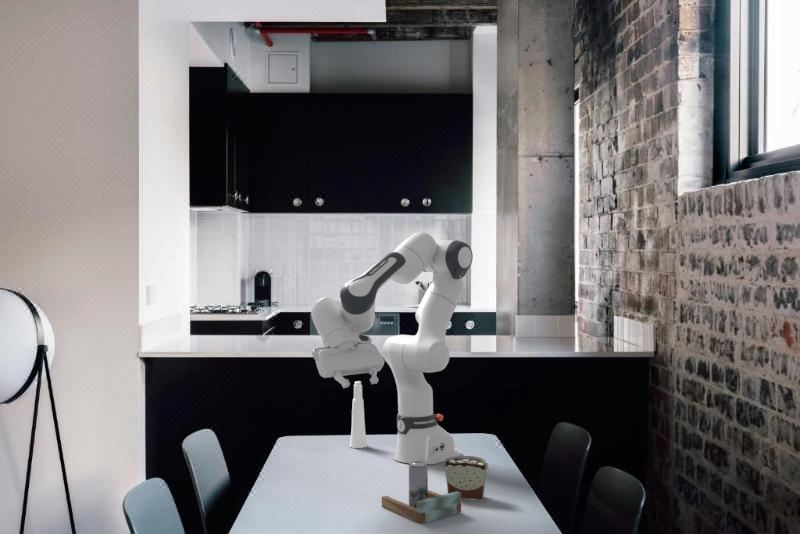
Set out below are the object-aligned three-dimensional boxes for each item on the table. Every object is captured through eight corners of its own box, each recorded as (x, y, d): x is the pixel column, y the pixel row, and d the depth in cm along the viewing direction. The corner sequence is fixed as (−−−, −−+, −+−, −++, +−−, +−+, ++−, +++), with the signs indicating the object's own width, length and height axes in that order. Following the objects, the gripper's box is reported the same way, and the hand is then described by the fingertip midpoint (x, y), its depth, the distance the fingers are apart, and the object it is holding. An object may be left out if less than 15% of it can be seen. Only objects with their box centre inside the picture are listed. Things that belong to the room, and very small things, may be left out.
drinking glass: (419, 504, 192) (419, 459, 192) (431, 509, 189) (431, 463, 188) (405, 507, 190) (404, 462, 189) (416, 513, 186) (416, 466, 186)
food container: (493, 494, 200) (493, 457, 200) (488, 501, 194) (488, 463, 194) (449, 489, 204) (448, 453, 204) (442, 496, 198) (442, 459, 198)
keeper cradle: (421, 496, 199) (421, 477, 198) (461, 512, 186) (461, 492, 186) (381, 506, 191) (381, 487, 191) (420, 523, 178) (420, 503, 178)
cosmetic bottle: (370, 446, 252) (370, 381, 252) (357, 449, 248) (356, 383, 248) (359, 443, 257) (359, 379, 256) (345, 446, 253) (345, 381, 252)
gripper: (314, 341, 204) (333, 381, 196) (375, 336, 216) (395, 373, 208) (306, 356, 207) (324, 396, 199) (366, 349, 219) (386, 387, 212)
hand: (361, 384), depth 204 cm, fingers open, 8 cm apart
